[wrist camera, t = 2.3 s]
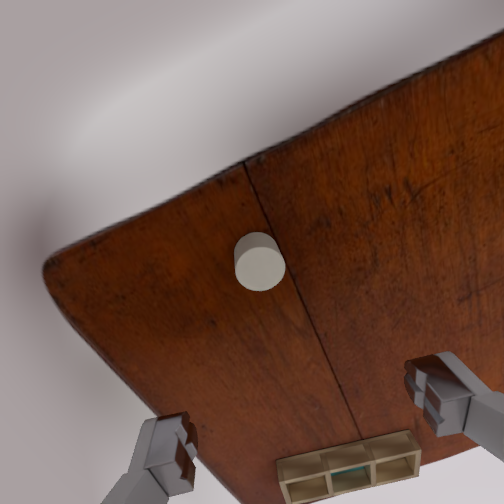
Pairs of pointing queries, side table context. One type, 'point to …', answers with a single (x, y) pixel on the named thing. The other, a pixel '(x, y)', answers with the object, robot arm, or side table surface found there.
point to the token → (258, 262)
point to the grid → (349, 467)
